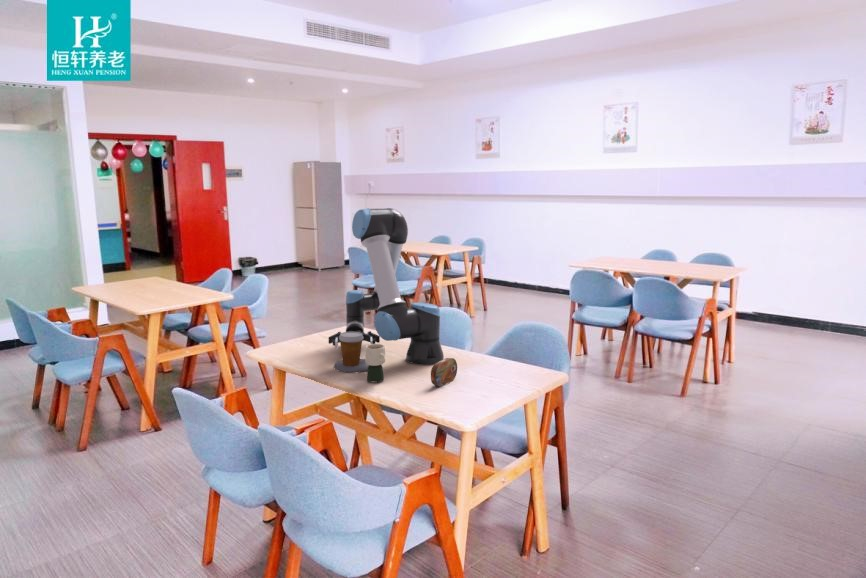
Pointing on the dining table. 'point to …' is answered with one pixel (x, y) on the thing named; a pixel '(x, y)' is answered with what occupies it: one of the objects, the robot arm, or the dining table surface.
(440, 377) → the tin
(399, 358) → the dining table surface
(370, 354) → the character mug
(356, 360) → the disposable coffee cup
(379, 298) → the robot arm
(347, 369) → the mat
